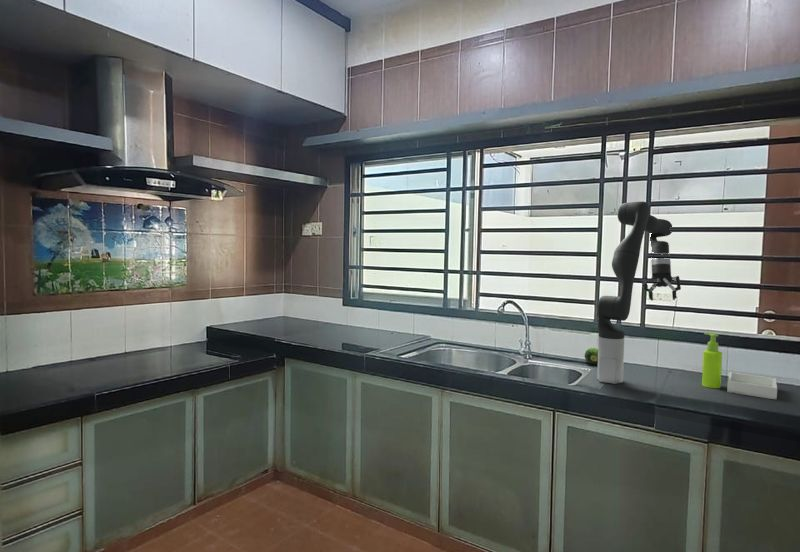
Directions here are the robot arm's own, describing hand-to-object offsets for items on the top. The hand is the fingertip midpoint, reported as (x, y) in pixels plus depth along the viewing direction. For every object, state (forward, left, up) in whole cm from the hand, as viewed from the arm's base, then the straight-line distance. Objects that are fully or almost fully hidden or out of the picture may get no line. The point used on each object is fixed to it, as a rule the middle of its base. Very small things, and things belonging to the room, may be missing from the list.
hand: (662, 300), depth 210 cm
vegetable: (-12, +26, -29) cm, 41 cm away
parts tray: (-24, -33, -29) cm, 50 cm away
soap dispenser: (-26, -20, -29) cm, 44 cm away
